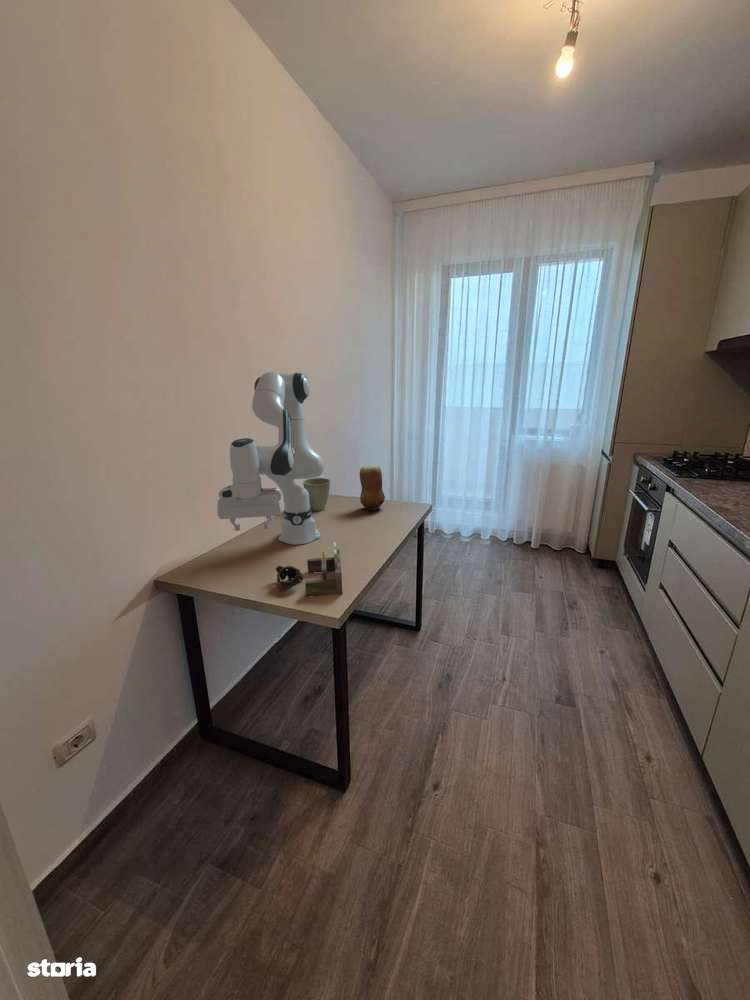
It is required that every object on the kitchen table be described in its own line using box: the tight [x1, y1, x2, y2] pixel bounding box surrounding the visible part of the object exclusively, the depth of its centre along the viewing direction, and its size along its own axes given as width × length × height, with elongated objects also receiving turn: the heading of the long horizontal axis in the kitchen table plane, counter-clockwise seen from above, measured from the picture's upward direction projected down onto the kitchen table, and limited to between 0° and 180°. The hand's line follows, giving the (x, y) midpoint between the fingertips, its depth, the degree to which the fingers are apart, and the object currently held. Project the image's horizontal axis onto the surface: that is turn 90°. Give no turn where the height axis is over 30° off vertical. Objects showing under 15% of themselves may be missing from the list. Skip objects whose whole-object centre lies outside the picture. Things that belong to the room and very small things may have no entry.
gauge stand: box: [304, 540, 344, 598], centre depth 140 cm, size 19×12×13 cm, turn 7°
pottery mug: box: [275, 565, 304, 592], centre depth 140 cm, size 12×10×8 cm
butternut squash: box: [359, 464, 386, 511], centre depth 216 cm, size 14×13×25 cm
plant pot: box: [302, 477, 331, 512], centre depth 221 cm, size 15×15×16 cm
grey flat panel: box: [321, 551, 328, 580], centre depth 140 cm, size 10×2×11 cm, turn 7°
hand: (252, 529), depth 134 cm, fingers open, 8 cm apart
